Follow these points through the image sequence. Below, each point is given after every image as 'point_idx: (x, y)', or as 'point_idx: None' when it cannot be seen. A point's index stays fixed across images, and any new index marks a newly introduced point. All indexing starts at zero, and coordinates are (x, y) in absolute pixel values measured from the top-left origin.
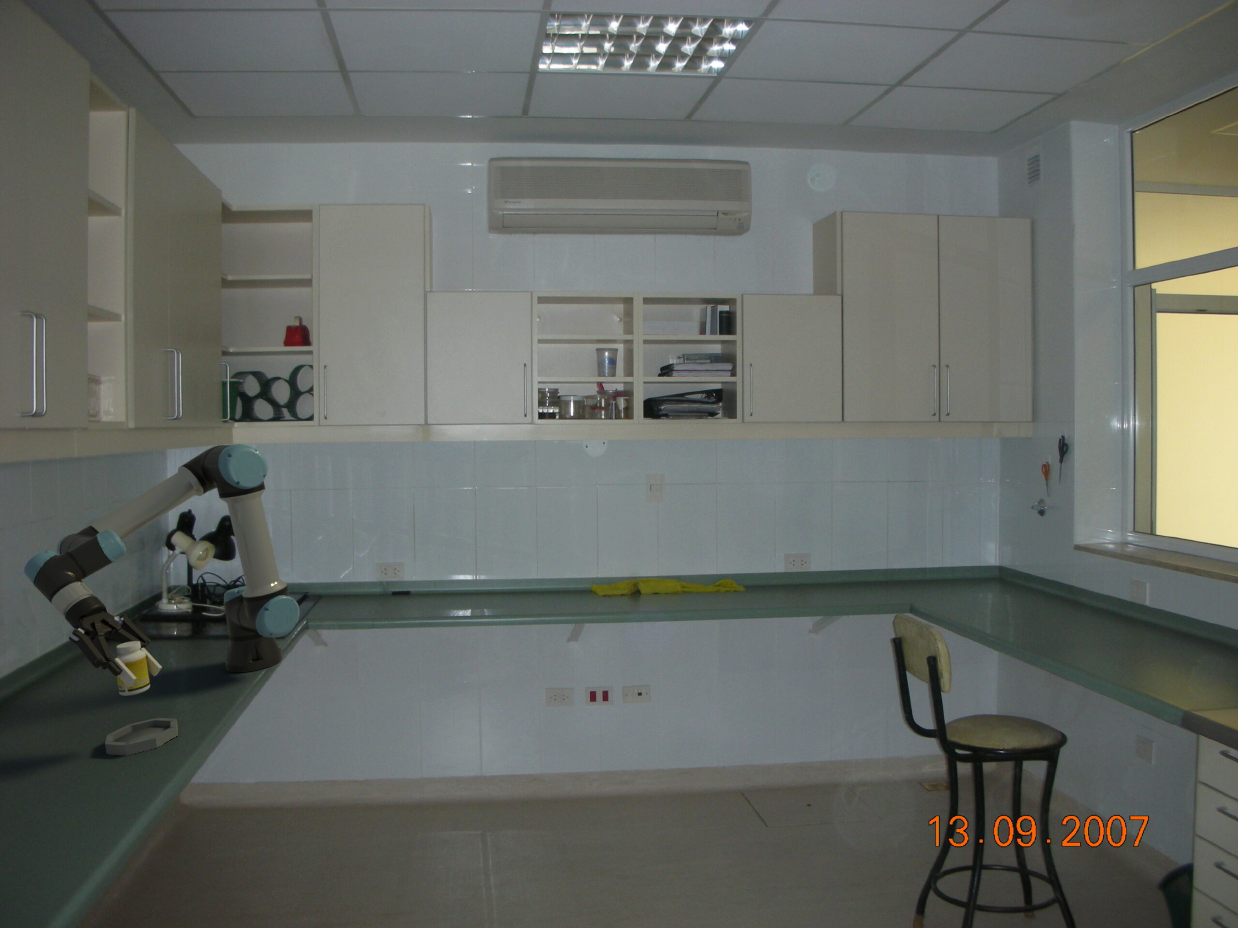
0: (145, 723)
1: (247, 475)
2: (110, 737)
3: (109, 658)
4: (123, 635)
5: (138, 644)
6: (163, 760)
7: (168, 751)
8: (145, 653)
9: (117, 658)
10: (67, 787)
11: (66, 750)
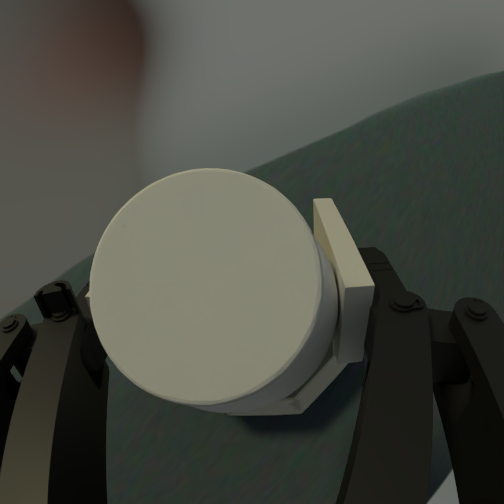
0: None
1: None
2: (313, 386)
3: (414, 298)
4: (55, 473)
5: (171, 180)
6: (337, 182)
7: (301, 209)
8: None
9: (352, 281)
10: (471, 281)
11: (339, 485)
